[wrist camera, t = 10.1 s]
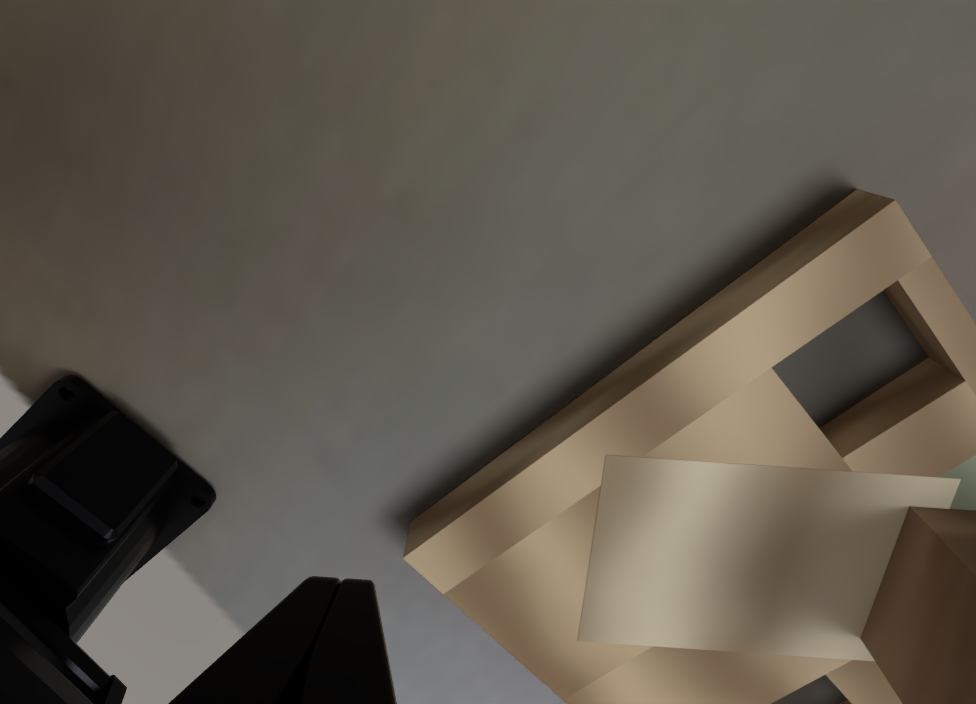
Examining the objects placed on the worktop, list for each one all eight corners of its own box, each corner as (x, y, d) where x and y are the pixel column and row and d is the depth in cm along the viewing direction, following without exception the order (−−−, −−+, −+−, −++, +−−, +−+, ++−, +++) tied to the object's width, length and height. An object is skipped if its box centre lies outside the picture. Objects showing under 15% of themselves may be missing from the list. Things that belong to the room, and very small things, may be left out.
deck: (695, 781, 29) (709, 830, 27) (410, 521, 24) (402, 558, 22) (1109, 569, 24) (1160, 610, 22) (857, 188, 19) (895, 200, 17)
